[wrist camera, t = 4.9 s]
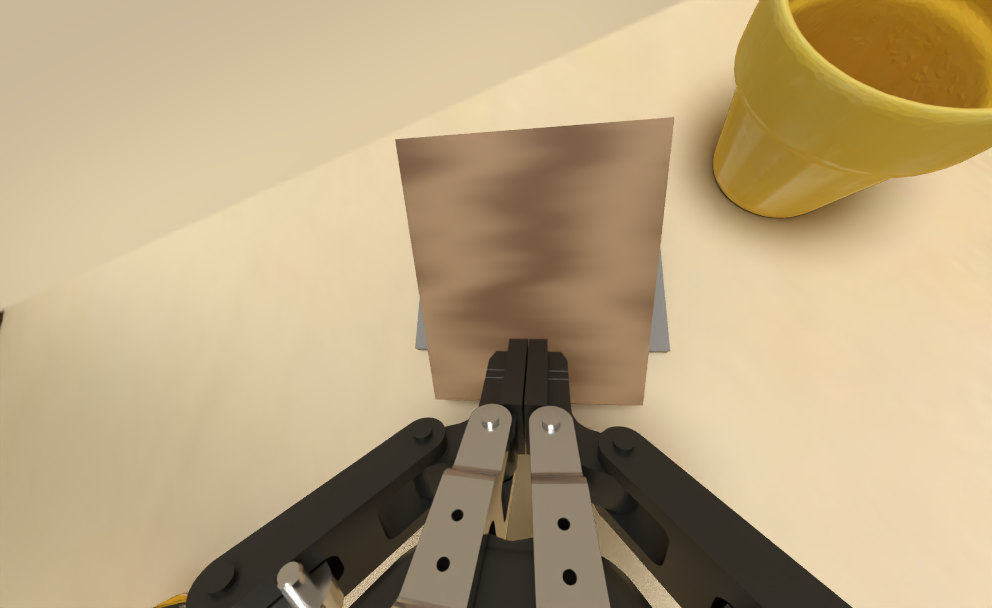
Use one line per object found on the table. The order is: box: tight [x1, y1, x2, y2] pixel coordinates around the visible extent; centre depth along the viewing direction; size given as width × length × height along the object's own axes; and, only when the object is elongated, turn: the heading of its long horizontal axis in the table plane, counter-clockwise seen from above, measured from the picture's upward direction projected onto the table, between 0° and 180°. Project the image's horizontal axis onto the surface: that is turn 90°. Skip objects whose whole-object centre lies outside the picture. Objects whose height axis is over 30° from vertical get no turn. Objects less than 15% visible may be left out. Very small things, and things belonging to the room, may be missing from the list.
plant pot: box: [713, 0, 992, 218], centre depth 17 cm, size 10×10×10 cm
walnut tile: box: [395, 117, 674, 405], centre depth 17 cm, size 10×3×12 cm
